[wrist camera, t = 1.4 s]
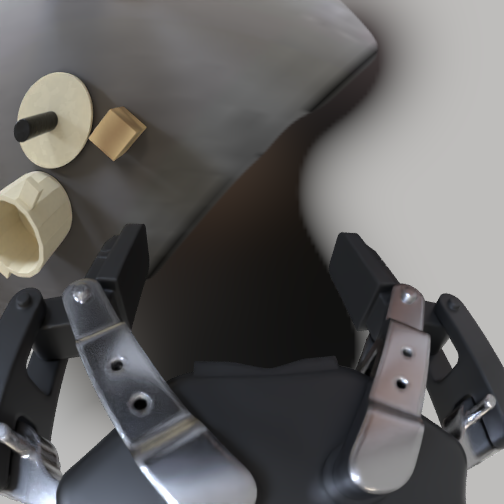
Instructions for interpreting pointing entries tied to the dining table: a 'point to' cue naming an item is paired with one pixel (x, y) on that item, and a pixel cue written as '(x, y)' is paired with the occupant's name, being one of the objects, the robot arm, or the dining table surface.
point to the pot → (32, 223)
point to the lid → (54, 120)
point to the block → (117, 132)
